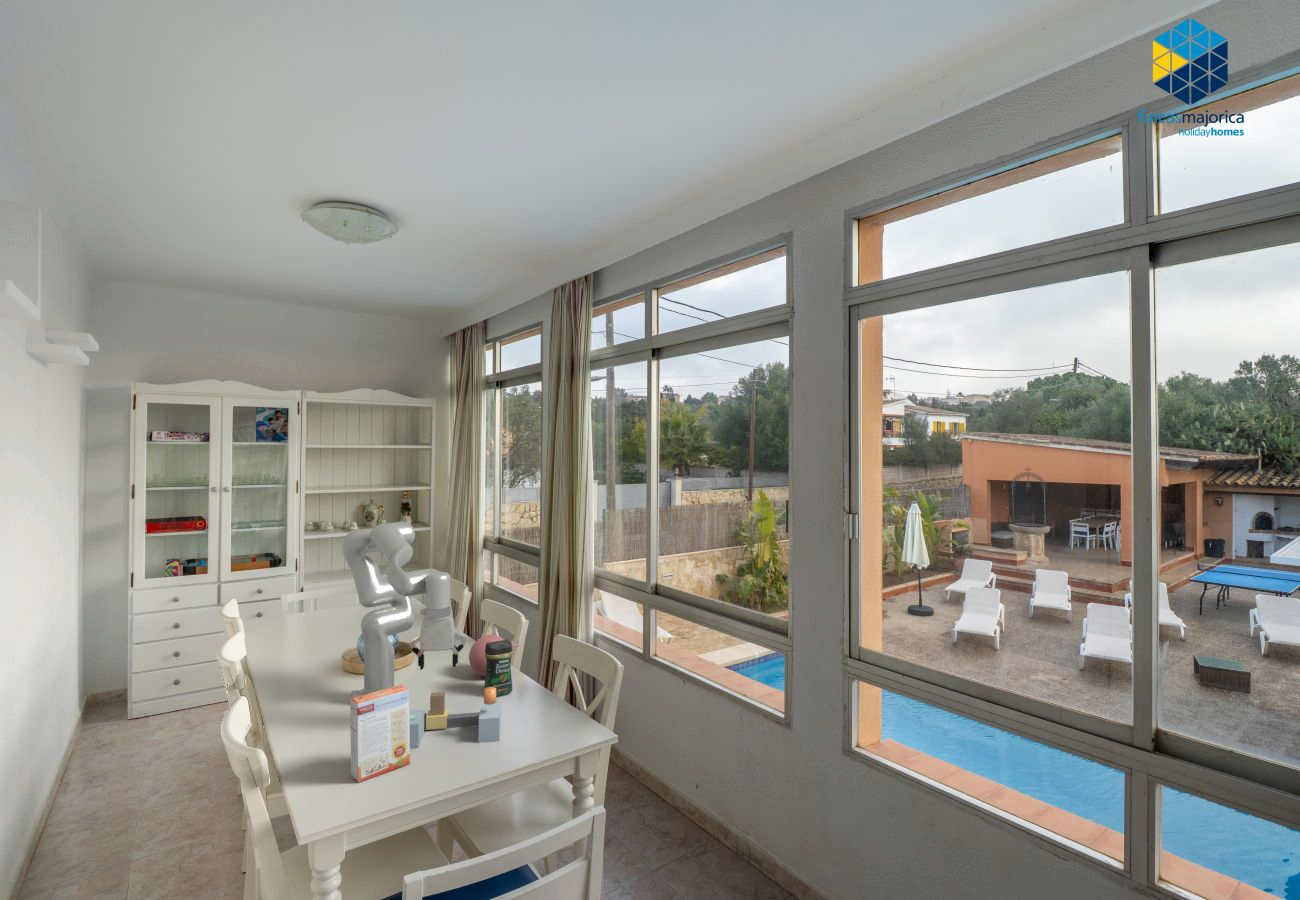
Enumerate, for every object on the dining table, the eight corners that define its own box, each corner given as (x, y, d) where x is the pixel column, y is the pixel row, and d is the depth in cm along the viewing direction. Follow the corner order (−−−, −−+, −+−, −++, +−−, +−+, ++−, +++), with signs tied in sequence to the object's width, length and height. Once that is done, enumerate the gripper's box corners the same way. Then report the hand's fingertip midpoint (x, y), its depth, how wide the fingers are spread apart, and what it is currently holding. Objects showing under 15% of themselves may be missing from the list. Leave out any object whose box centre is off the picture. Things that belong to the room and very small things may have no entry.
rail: (420, 730, 192) (420, 717, 192) (422, 726, 195) (422, 713, 195) (488, 724, 196) (488, 712, 196) (489, 720, 199) (489, 708, 199)
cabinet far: (478, 742, 184) (478, 719, 184) (481, 727, 194) (481, 705, 194) (499, 740, 185) (499, 717, 185) (500, 726, 195) (500, 703, 195)
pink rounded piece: (528, 674, 239) (528, 635, 239) (477, 686, 227) (477, 644, 227) (511, 663, 252) (511, 625, 251) (463, 673, 240) (463, 634, 240)
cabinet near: (393, 749, 179) (393, 722, 179) (400, 734, 189) (400, 707, 189) (418, 747, 181) (418, 720, 181) (424, 732, 191) (424, 706, 191)
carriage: (426, 729, 191) (426, 698, 191) (428, 722, 196) (428, 691, 196) (446, 728, 192) (446, 696, 192) (448, 720, 197) (448, 690, 197)
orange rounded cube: (483, 705, 186) (483, 691, 186) (484, 700, 190) (484, 687, 190) (495, 704, 187) (495, 690, 187) (496, 699, 191) (496, 686, 191)
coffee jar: (488, 699, 215) (489, 646, 215) (481, 692, 222) (481, 640, 222) (515, 693, 220) (515, 641, 220) (507, 686, 227) (507, 636, 227)
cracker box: (401, 756, 176) (401, 683, 175) (410, 764, 171) (410, 689, 171) (349, 774, 166) (349, 696, 166) (357, 783, 161) (357, 703, 161)
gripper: (406, 617, 189) (406, 673, 189) (465, 613, 192) (465, 669, 192) (411, 611, 196) (411, 665, 196) (467, 608, 199) (468, 661, 199)
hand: (438, 667), depth 194 cm, fingers open, 9 cm apart
